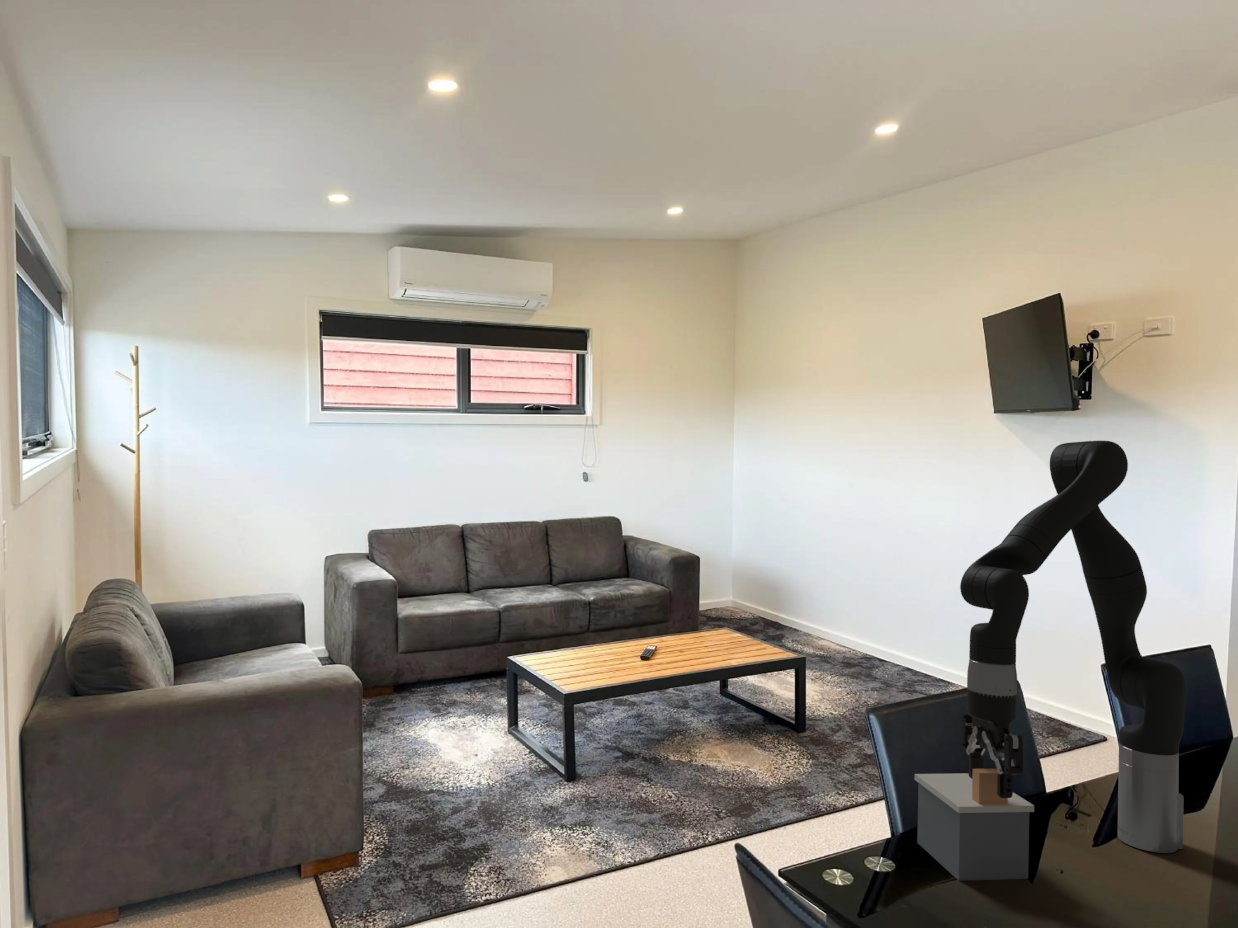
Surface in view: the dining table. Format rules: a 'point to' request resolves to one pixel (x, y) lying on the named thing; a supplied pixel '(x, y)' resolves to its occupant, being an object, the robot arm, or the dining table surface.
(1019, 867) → the tub
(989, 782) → the lid
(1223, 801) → the dining table surface
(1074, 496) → the robot arm
